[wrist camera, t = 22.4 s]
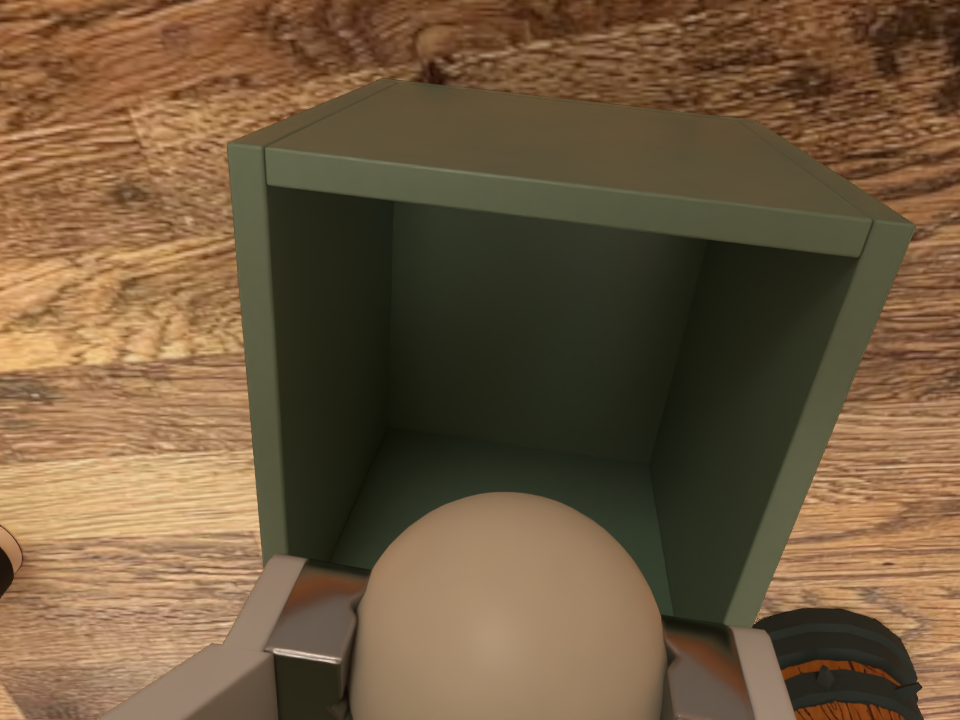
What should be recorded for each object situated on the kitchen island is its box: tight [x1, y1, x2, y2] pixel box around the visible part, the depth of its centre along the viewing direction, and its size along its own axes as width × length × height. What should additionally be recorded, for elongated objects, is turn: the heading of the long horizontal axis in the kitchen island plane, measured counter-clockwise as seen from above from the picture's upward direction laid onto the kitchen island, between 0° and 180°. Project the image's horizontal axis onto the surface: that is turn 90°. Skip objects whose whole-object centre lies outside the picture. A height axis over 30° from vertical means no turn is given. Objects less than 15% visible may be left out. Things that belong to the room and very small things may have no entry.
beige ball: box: [347, 492, 668, 720], centre depth 9 cm, size 4×4×4 cm
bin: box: [227, 78, 916, 628], centre depth 23 cm, size 16×14×13 cm
